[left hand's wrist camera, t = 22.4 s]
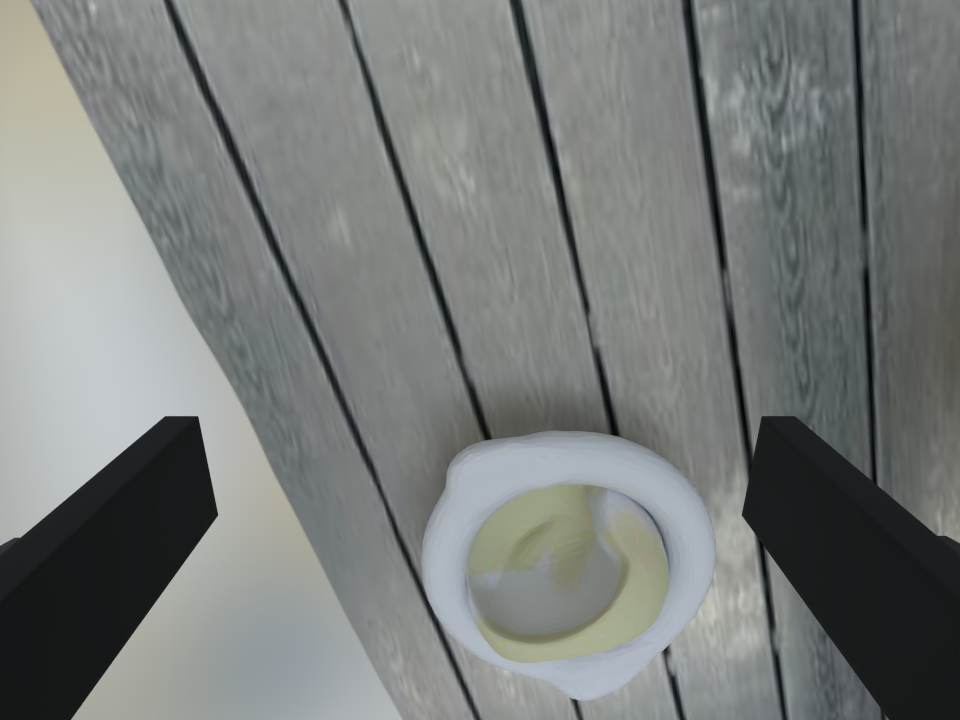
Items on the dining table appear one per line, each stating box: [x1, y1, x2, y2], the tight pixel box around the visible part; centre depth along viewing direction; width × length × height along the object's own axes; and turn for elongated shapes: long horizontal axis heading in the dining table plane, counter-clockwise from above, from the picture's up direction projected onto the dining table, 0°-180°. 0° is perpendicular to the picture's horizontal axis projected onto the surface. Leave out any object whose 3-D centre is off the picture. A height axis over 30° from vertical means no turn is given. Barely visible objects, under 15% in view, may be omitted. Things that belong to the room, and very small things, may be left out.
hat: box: [421, 431, 716, 701], centre depth 41 cm, size 25×22×15 cm
